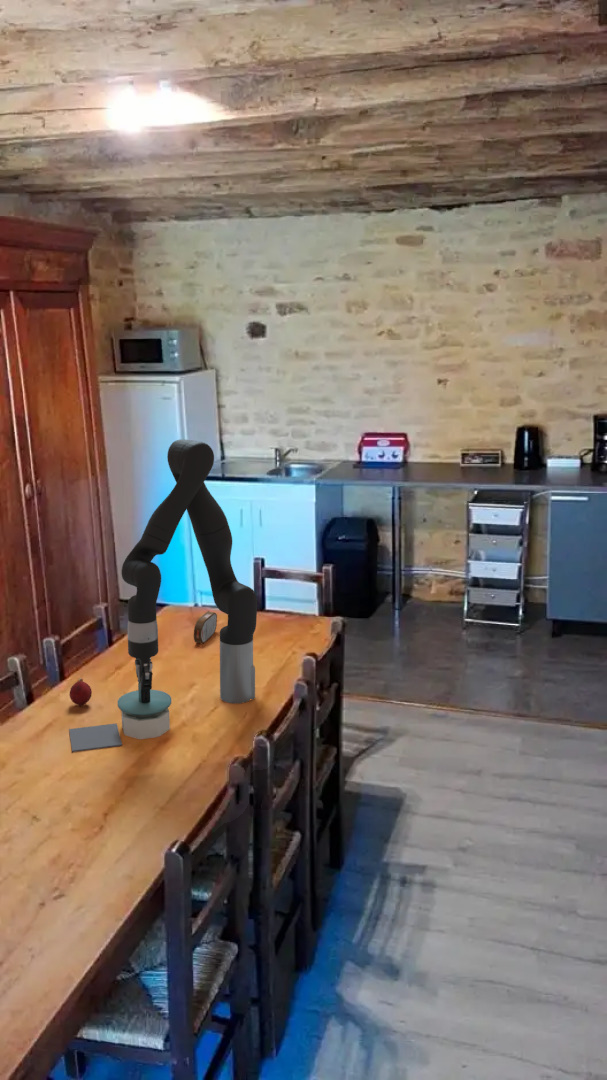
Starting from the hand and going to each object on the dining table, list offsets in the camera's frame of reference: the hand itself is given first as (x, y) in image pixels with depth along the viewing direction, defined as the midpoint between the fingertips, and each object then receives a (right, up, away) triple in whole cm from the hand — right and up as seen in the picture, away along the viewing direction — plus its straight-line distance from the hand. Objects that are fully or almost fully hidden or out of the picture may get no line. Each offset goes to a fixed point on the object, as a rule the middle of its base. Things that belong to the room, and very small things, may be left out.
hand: (144, 699), depth 227 cm
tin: (+9, +8, +65) cm, 66 cm away
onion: (-20, -5, +14) cm, 25 cm away
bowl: (0, -8, +2) cm, 8 cm away
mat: (-12, -9, -4) cm, 15 cm away
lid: (0, -1, 0) cm, 1 cm away
